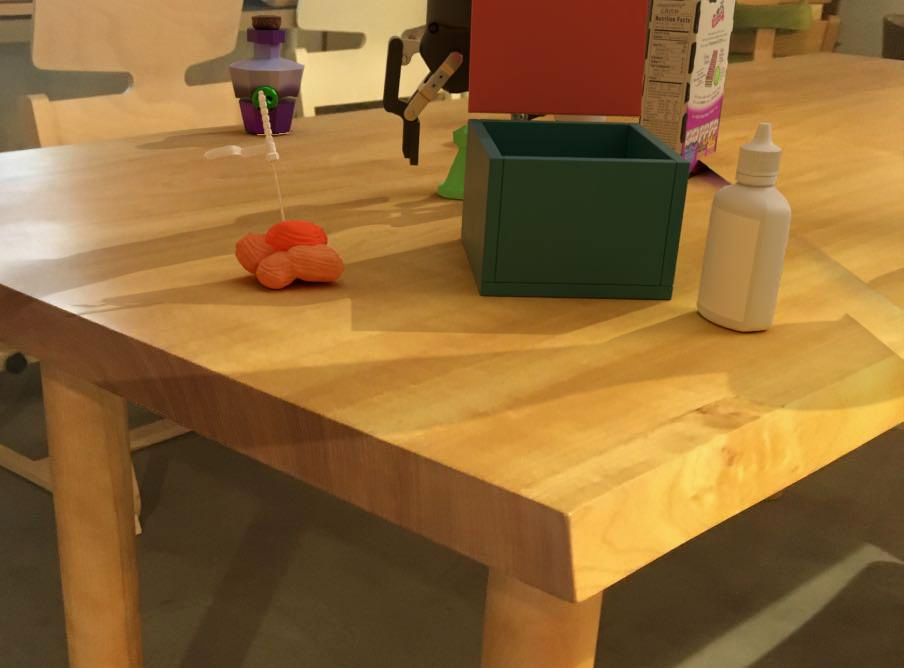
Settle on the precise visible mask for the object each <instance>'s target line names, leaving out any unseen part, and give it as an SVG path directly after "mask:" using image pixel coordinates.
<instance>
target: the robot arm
mask: <svg viewBox="0 0 904 668" xmlns="http://www.w3.org/2000/svg"><path fill="white" fill-rule="evenodd" d="M471 13H472V0H426V14H425V18H426V19H425V29H424V33H423V35H422V36H421V38H420V39H411V38H401V37H400V36H399V35H392V36H391V37H389V39H388V41H387V52H386V62H385V71H384V72H385V73H384V83H383V95H382V106H383V110H384V111H385V112H387V113H389V114H394V115H396V116H398V117H400V118H401V120H402V137H401V138H402V139H401V141H402V142H401V151H402V155H403V157H404V159H408V160H409V161H408V162H409V166H416V167H417V166H419V158H420V157H419V156H420V155H419V154H420V133H421V121H420V118H419V116H420V114H421V113H422V112H423V110H424V109H425V108H426V107H427V106H428V104H429V103H430V102H432V100H433V99H435V97H436V95H437V94H438V93H439V92H440V90H441V89H442V90H443V91H444V92H446V93H448V94H450V95H459V94H462V93H469V68H470V40H471ZM415 54H419V55H420V57H421V59H422V61H423V62H424V63H425V65H426V67H427V68H428V70H429V71H428V73H427V74H426V75H425V76H424V78H423V79H422V80H421V82H420V83H419V84H418V86H417V87H416V89H415V91H414V92H413V93H412V94H411V96H409V99H408V100H405V99H403V98H400V97H399V95H400V85H401V73H402V67H405V66H408V65H409V64H411V62H412V58H413V56H414V55H415ZM509 115H510V120H534V119H535V120H536V119H537V118H540V117H541V118H543V117H547V115H536V114H509Z"/></svg>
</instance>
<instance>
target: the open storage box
mask: <svg viewBox="0 0 904 668" xmlns="http://www.w3.org/2000/svg"><path fill="white" fill-rule="evenodd" d="M467 126H468V128H467V144H466V161H465V178H464V194H463V200H462V212H461V213H462V214H461V229H460V240H461V242H462V246H463V248H464V252H465V253H466V257H467V260H468V263H469V267H470V268H471V272H472V275H473V278H474V281H475V283H476V286H477V289H478V293H479V296H482V297H483V296H487V297H489V296H490V297H529V298H530V297H531V298H533V297H537V298H577V299H578V298H582V299H626V300H627V299H629V300H631V299H634V300H635V299H636V300H672V298H673V293H674V285H675V284H674V283H675V276H676V270H677V262H678V255H679V249H680V242H681V241H680V240H681V235H682V229H683V228H682V227H683V221H684V220H683V219H684V213H685V205H686V199H687V191H688V184H689V179H690V177H689V171H690V164H691V163H690V162H689V161H687V160H686V159H685V158H684V157H682V156H681V155H680V154H678V153H677V152H676V151H674V150H673V149H672V148H670V147H669V146H668V145H667V144H665V143H664V142H663V141H661V140H660V139H659V138H657V137H656V136H655V135H654V134H652V133H651V132H650V131H648V130H647V129H646V128H644V127H643V126H642V125H640V124H639V122H626V121H625V122H624V121H623V122H620V121H617V122H616V121H605V122H584V121H556V120H536V119H535V120H534V119H532V120H511V119H498V118H497V119H495V118H468V119H467Z"/></svg>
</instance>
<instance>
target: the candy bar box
mask: <svg viewBox="0 0 904 668" xmlns="http://www.w3.org/2000/svg"><path fill="white" fill-rule="evenodd" d="M736 5H737V0H651V4H650V13H649V24H648V30H647V31H648V32H647V38H646V39H647V41H646V48H645V57H644V73H643V88H642V104H641V116H639V117H638V123H639V124H640V125H642V126H643V127H644V128H646V129H647V130H648V131H650V132H651V133H652V134H654V135H655V136H656V137H657V138H659V139H660V140H661V141H663V142H664V143H665V144H667V145H668V146H669V147H670V148H672V149H673V150H674V151H676V152H677V153H678V154H680V155H681V156H682V157H684V158H685V159H686V160H687V161H689V162H690V163H691V164H690V171H689V178H691V177H693V176H694V175H696V174H698V173H700V172H702V171H705V170H706V169H708V168H709V165H707V164H706V163H705V162H703V161H702V160H700V159H703V158H705V157H707V156H709V155H712V154H713V153H715V152H717V144H718V138H719V137H718V136H719V130H720V122H721V117H722V115H721V114H722V107H723V101H724V94H725V86H726V77H727V72H728V65H729V57H730V56H729V55H730V50H731V42H732V35H733V28H734V20H735V13H736Z"/></svg>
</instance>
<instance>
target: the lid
mask: <svg viewBox="0 0 904 668" xmlns="http://www.w3.org/2000/svg"><path fill="white" fill-rule="evenodd" d="M648 8H649V0H472V13H471V40H470V68H469V92H468V97H467V99H468V100H467V114H494V115H495V114H498V115H499V114H503V115H510V114H536V115H546V116H554V115H578V116H606V117H620V118H621V117H622V118H623V117H624V118H626V117H628V118H639V116H641V104H642V89H643V80H644V68H645V58H646V43H647V41H646V39H647V25H648Z"/></svg>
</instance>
